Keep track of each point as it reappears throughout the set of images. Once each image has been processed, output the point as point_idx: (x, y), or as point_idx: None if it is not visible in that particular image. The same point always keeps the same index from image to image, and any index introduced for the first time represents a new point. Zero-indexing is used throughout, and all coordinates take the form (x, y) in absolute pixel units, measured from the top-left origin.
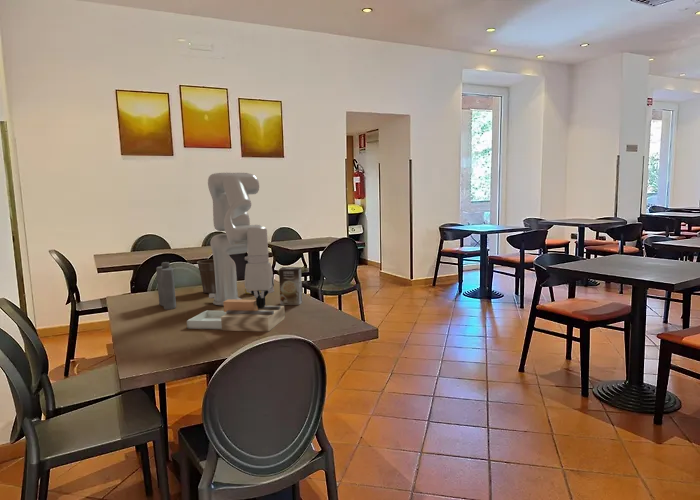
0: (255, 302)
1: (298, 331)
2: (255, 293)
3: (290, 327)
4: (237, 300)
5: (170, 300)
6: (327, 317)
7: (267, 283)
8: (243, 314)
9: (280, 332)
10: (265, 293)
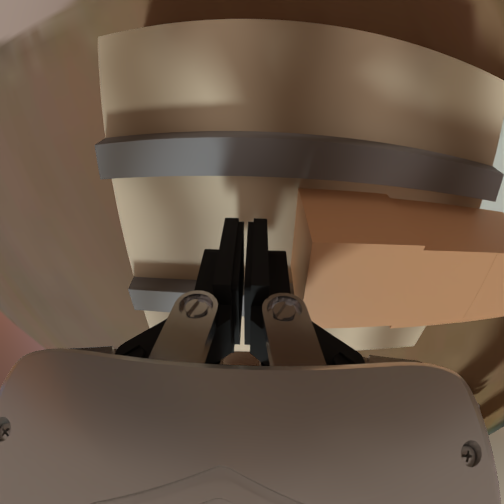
0: (303, 281)
1: (7, 92)
2: (295, 343)
3: (61, 144)
4: (466, 297)
5: None
6: (27, 297)
7: (8, 443)
8: (375, 128)
9: (71, 45)
10: (149, 345)
